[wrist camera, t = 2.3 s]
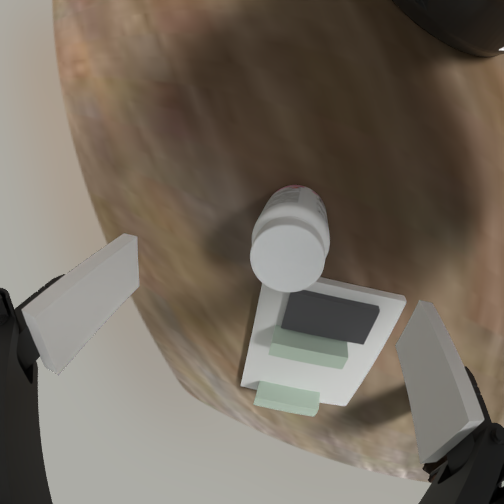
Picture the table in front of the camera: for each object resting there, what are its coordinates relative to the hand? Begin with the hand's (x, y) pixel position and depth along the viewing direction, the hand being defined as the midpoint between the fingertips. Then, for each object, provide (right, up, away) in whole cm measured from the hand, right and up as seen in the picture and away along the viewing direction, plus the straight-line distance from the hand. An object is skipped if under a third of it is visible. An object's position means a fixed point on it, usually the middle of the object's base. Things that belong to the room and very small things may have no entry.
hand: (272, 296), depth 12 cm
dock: (+5, -8, +15) cm, 18 cm away
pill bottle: (+3, +5, +10) cm, 12 cm away
